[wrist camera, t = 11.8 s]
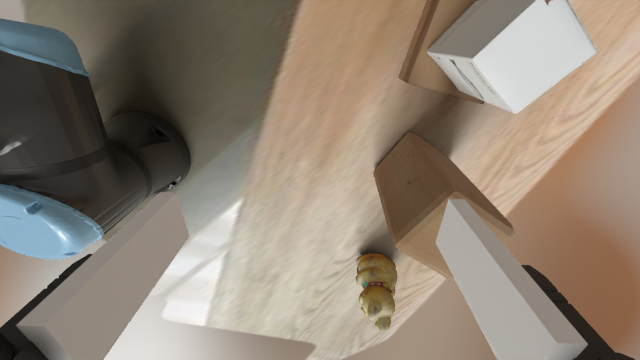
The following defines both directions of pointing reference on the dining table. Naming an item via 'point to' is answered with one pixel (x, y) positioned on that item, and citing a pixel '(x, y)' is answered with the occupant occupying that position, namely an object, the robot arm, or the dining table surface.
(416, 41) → the base block
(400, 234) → the wooden block
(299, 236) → the dining table surface
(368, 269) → the decorative figurine
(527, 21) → the supplement box
